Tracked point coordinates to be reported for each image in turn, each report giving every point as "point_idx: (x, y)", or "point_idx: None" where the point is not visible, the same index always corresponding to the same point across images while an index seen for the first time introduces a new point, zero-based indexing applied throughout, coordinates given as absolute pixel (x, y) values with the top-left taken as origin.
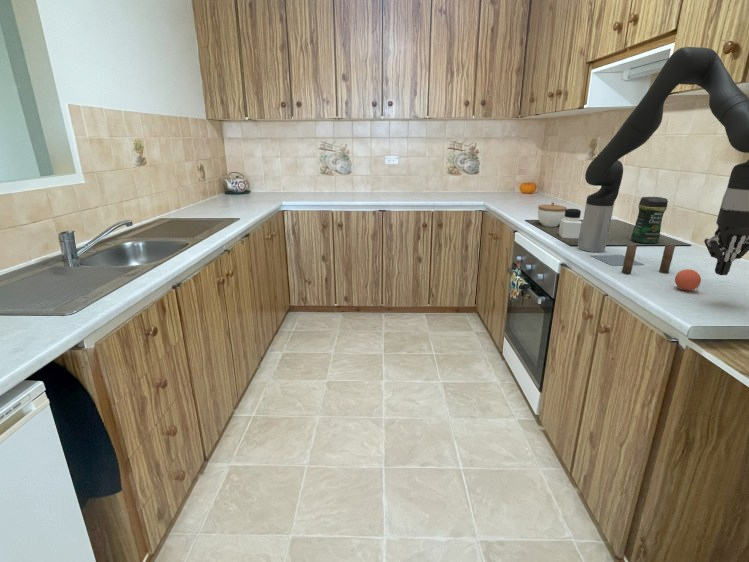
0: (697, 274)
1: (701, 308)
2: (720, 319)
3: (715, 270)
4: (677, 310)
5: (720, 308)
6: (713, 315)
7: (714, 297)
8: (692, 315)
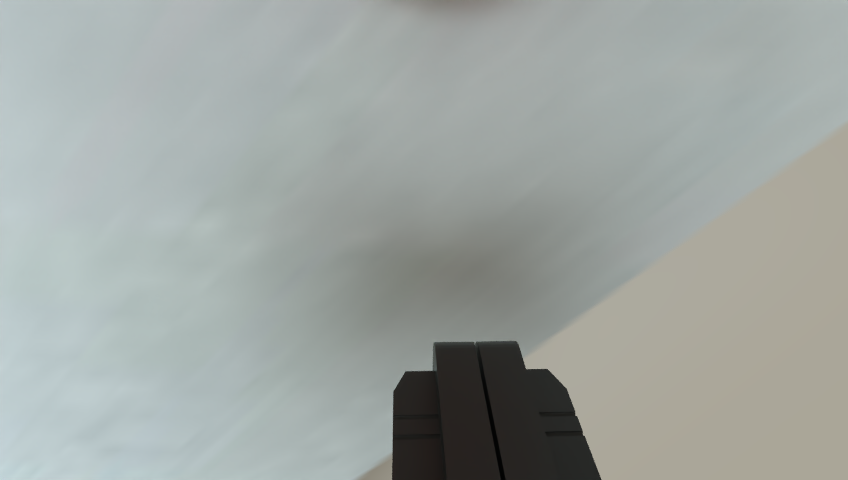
0: None
1: (229, 319)
2: (223, 466)
3: (394, 396)
4: (8, 339)
5: (381, 328)
6: (224, 420)
7: (564, 113)
8: (72, 413)
